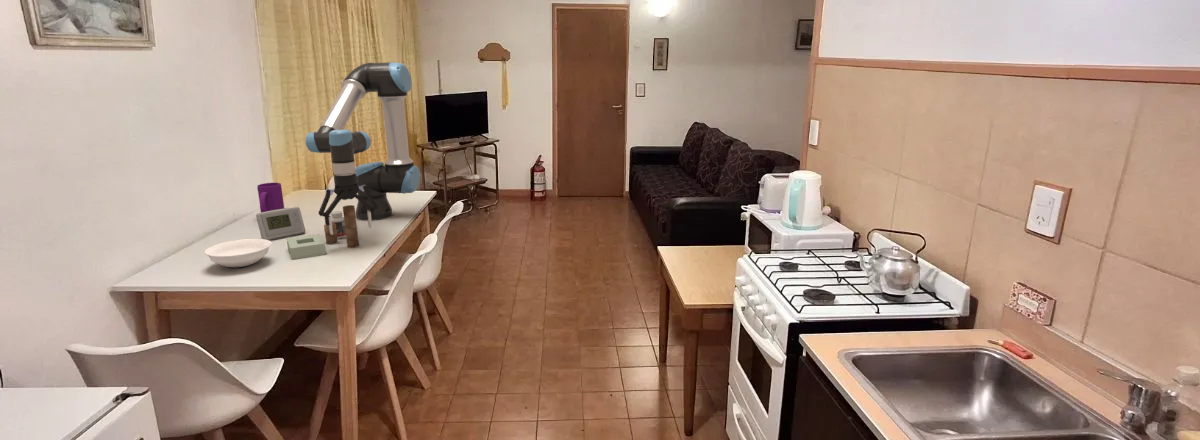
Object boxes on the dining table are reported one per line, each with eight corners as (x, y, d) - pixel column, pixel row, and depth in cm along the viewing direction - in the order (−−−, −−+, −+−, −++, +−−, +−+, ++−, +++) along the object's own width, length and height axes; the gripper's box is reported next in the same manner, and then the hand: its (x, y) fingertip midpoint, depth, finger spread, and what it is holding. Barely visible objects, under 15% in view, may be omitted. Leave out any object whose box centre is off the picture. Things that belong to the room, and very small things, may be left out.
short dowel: (336, 240, 242) (334, 222, 240) (338, 243, 238) (336, 225, 237) (325, 242, 240) (323, 224, 238) (327, 244, 236) (324, 226, 235)
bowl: (203, 278, 203) (199, 259, 201) (211, 260, 220) (208, 242, 219) (272, 269, 210) (269, 251, 209) (275, 252, 228) (273, 235, 226)
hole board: (320, 244, 237) (319, 234, 236) (326, 254, 225) (324, 243, 224) (288, 249, 232) (286, 238, 231) (291, 259, 220) (290, 248, 219)
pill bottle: (329, 239, 244) (326, 214, 241) (334, 235, 249) (331, 210, 247) (344, 238, 244) (341, 214, 242) (348, 234, 249) (346, 210, 247)
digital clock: (260, 242, 240) (256, 215, 238) (258, 237, 248) (254, 210, 245) (307, 235, 249) (303, 209, 246) (303, 230, 256) (300, 204, 253)
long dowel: (357, 243, 237) (353, 204, 233) (359, 246, 234) (355, 206, 230) (346, 245, 235) (341, 206, 231) (348, 248, 232) (343, 208, 228)
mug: (288, 215, 280) (284, 182, 276) (276, 224, 265) (271, 189, 262) (266, 216, 279) (261, 182, 275) (253, 225, 264) (247, 190, 260)
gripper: (378, 168, 237) (384, 223, 242) (305, 175, 225) (313, 233, 230) (383, 171, 230) (388, 228, 236) (308, 179, 218) (315, 238, 224)
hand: (351, 231), depth 233 cm, fingers open, 13 cm apart
